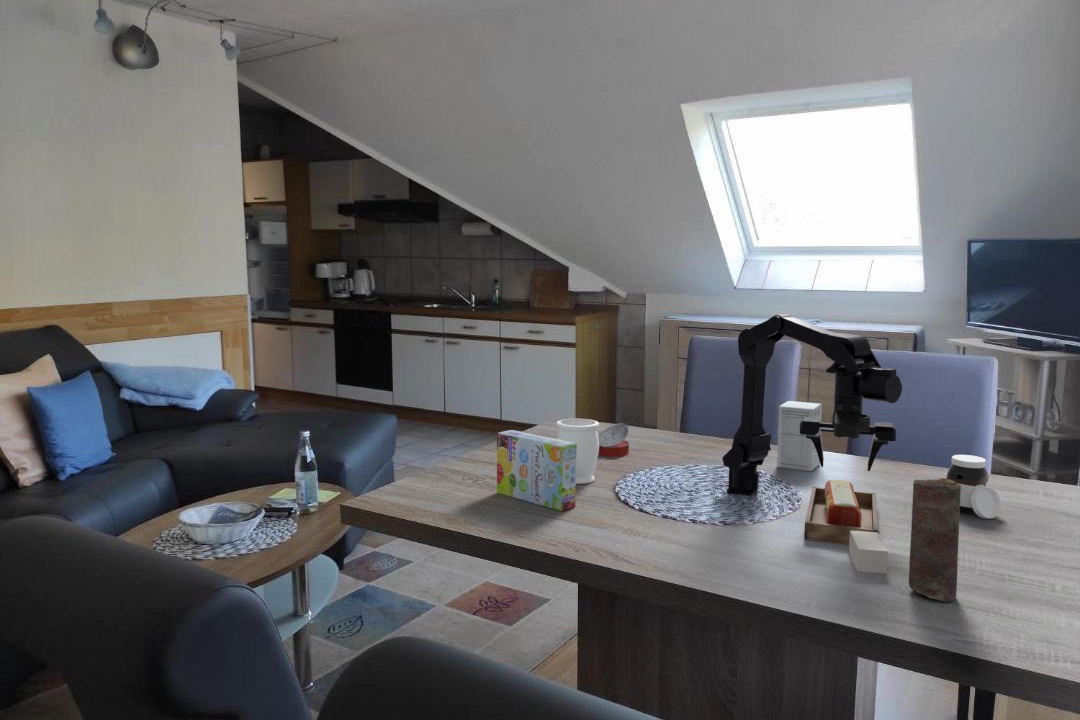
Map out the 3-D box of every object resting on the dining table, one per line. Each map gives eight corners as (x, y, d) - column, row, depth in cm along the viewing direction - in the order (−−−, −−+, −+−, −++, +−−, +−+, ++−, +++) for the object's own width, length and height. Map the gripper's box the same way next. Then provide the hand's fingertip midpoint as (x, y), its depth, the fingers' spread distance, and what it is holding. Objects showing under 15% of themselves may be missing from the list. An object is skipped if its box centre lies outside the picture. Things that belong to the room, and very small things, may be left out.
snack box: (577, 507, 185) (578, 442, 183) (561, 512, 181) (561, 446, 179) (511, 488, 199) (511, 428, 197) (495, 493, 195) (494, 431, 193)
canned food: (627, 471, 232) (632, 445, 226) (592, 467, 232) (596, 441, 226) (626, 445, 241) (631, 419, 235) (593, 441, 241) (597, 415, 235)
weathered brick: (907, 599, 136) (915, 483, 133) (905, 582, 143) (912, 471, 140) (958, 606, 133) (967, 488, 131) (953, 589, 140) (961, 476, 138)
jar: (550, 483, 203) (550, 424, 201) (565, 472, 213) (565, 416, 211) (591, 487, 199) (591, 427, 197) (604, 477, 209) (604, 419, 207)
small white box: (857, 572, 148) (858, 549, 147) (848, 552, 158) (850, 530, 157) (886, 575, 147) (888, 551, 146) (876, 555, 156) (877, 532, 156)
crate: (804, 539, 164) (804, 522, 164) (811, 501, 189) (812, 486, 188) (877, 548, 159) (878, 530, 159) (875, 508, 184) (876, 493, 183)
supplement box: (820, 464, 221) (823, 403, 219) (812, 472, 213) (815, 409, 211) (785, 459, 226) (787, 399, 224) (775, 466, 219) (778, 405, 216)
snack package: (823, 503, 185) (824, 475, 184) (854, 506, 183) (855, 477, 182) (826, 534, 165) (827, 502, 164) (861, 538, 163) (862, 505, 162)
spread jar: (955, 500, 190) (958, 451, 188) (1008, 511, 182) (1012, 460, 180) (935, 511, 182) (939, 460, 180) (991, 523, 174) (995, 470, 172)
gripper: (799, 399, 166) (796, 474, 168) (898, 405, 159) (894, 483, 161) (802, 391, 176) (800, 461, 179) (896, 396, 170) (892, 469, 172)
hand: (845, 468), depth 172 cm, fingers open, 9 cm apart
